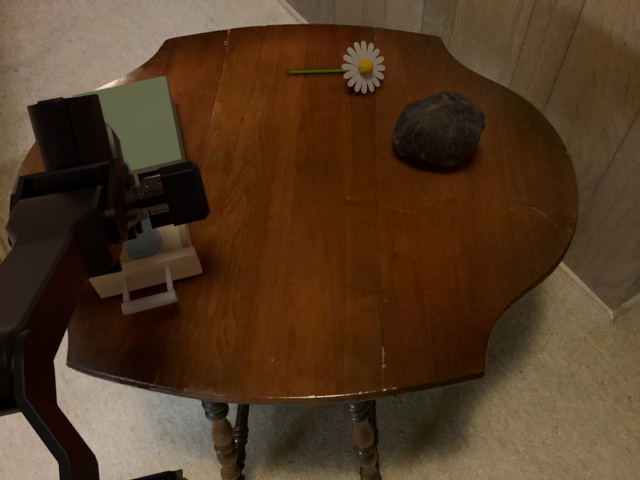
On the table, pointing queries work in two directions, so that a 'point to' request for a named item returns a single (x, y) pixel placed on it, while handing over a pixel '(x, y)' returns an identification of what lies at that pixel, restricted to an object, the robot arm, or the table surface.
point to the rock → (439, 129)
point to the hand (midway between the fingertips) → (127, 203)
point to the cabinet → (143, 122)
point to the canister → (143, 236)
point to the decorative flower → (358, 67)
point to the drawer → (152, 270)
